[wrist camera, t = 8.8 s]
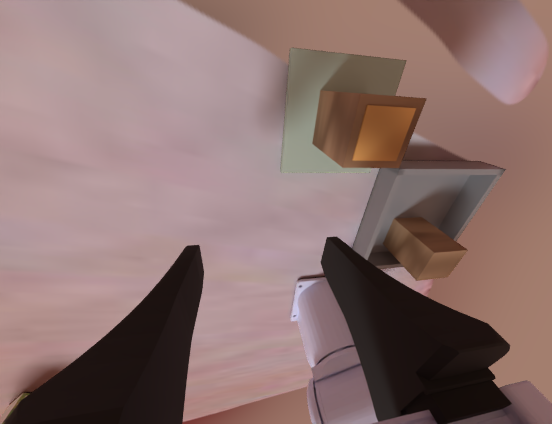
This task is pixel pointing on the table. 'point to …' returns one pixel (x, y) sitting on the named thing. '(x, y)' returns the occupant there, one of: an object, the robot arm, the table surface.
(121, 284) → the table surface
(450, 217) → the bin
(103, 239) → the table surface
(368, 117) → the label block
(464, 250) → the plain block
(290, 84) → the mat
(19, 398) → the syrup box
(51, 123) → the table surface
